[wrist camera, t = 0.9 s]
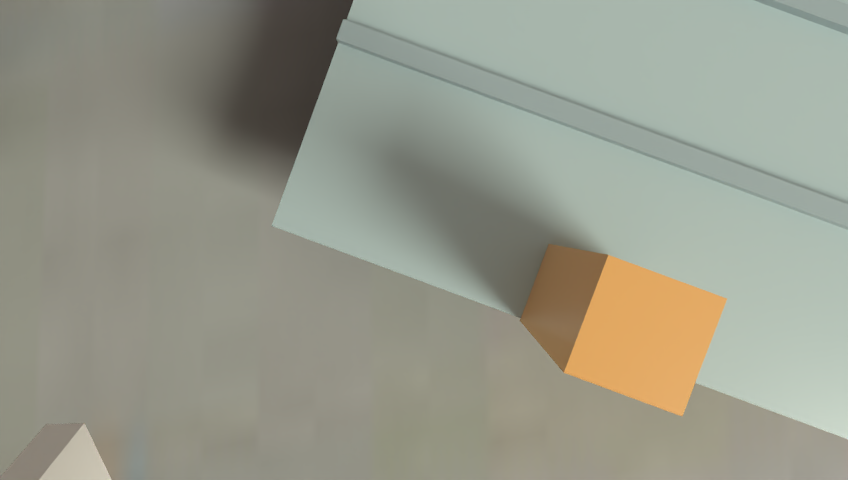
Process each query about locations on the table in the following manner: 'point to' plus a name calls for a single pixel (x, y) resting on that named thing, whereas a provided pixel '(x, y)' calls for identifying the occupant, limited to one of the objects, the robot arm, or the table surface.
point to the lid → (605, 182)
